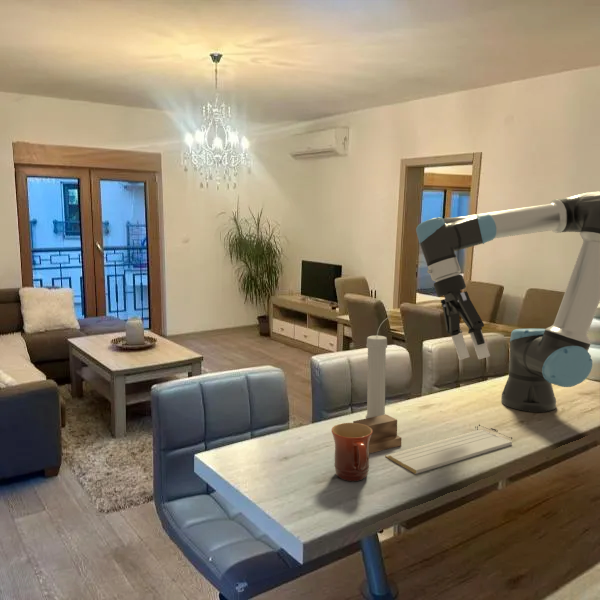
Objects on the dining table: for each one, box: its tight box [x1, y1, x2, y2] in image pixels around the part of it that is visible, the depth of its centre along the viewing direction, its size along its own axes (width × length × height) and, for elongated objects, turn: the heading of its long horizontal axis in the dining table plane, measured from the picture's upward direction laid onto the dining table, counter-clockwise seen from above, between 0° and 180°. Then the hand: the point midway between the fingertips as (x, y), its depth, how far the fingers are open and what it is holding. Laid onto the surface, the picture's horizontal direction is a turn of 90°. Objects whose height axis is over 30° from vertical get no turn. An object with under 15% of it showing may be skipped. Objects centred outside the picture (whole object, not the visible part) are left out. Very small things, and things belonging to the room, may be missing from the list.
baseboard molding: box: [384, 423, 513, 475], centre depth 130 cm, size 31×3×12 cm
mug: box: [331, 422, 373, 482], centre depth 115 cm, size 12×9×10 cm
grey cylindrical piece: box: [365, 316, 391, 419], centre depth 144 cm, size 6×6×30 cm
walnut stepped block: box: [352, 413, 402, 454], centre depth 133 cm, size 10×8×6 cm
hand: (474, 358), depth 136 cm, fingers open, 13 cm apart
